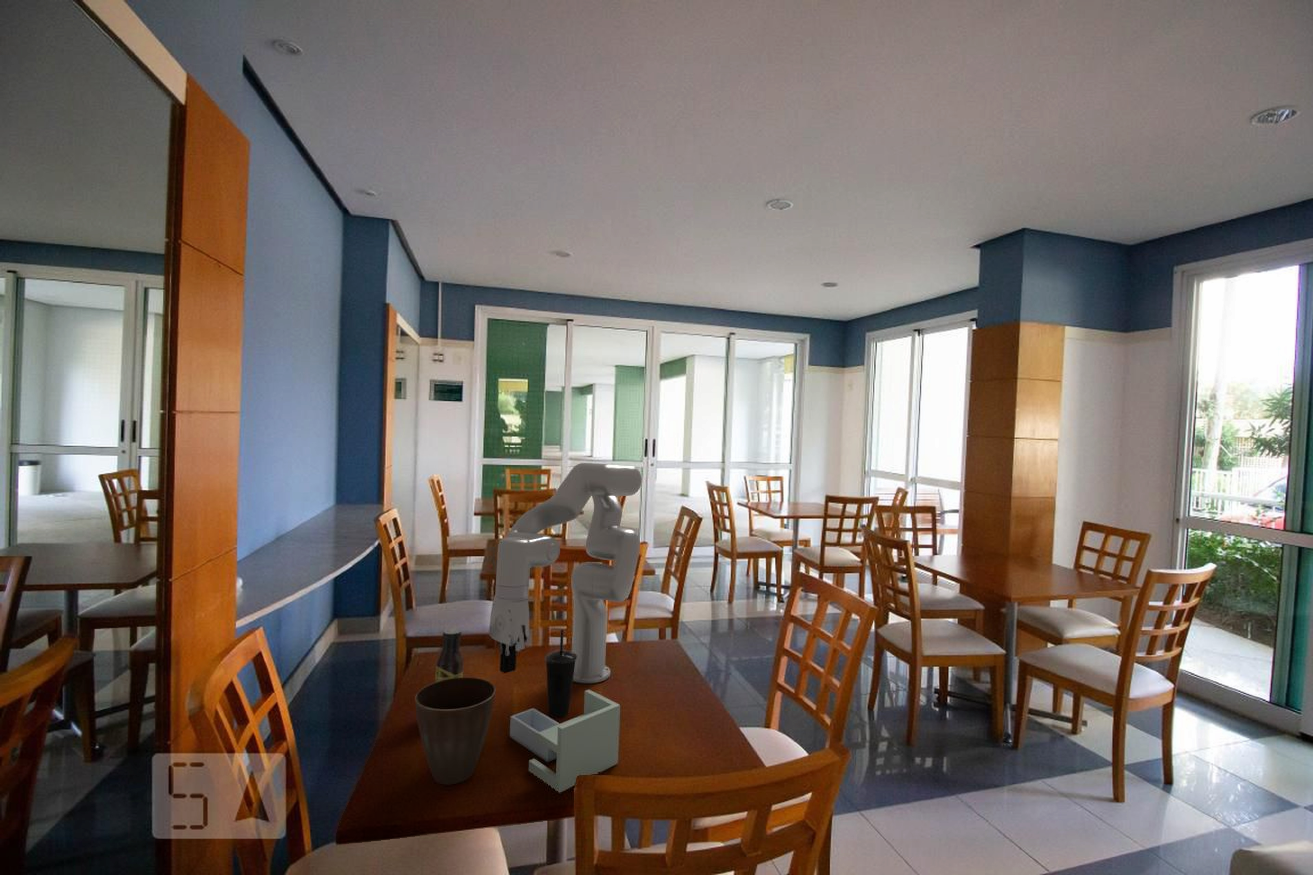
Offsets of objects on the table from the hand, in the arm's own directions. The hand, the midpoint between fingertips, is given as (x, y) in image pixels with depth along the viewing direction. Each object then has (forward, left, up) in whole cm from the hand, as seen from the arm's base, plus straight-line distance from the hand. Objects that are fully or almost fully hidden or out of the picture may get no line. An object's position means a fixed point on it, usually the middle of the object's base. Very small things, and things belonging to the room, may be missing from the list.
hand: (507, 670), depth 135 cm
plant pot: (+11, -18, -13) cm, 25 cm away
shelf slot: (+25, +1, -12) cm, 28 cm away
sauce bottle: (-13, -7, -13) cm, 20 cm away
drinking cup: (+4, +13, -13) cm, 18 cm away
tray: (+13, +1, -12) cm, 18 cm away
